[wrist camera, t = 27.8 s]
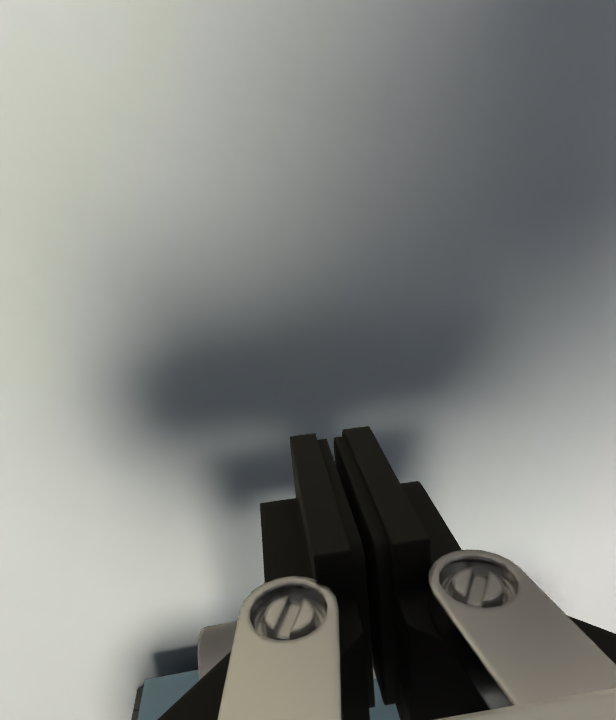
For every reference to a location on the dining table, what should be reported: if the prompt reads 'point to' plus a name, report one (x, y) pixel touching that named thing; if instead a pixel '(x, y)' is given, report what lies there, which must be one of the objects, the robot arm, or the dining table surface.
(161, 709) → the drawer
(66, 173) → the dining table surface
